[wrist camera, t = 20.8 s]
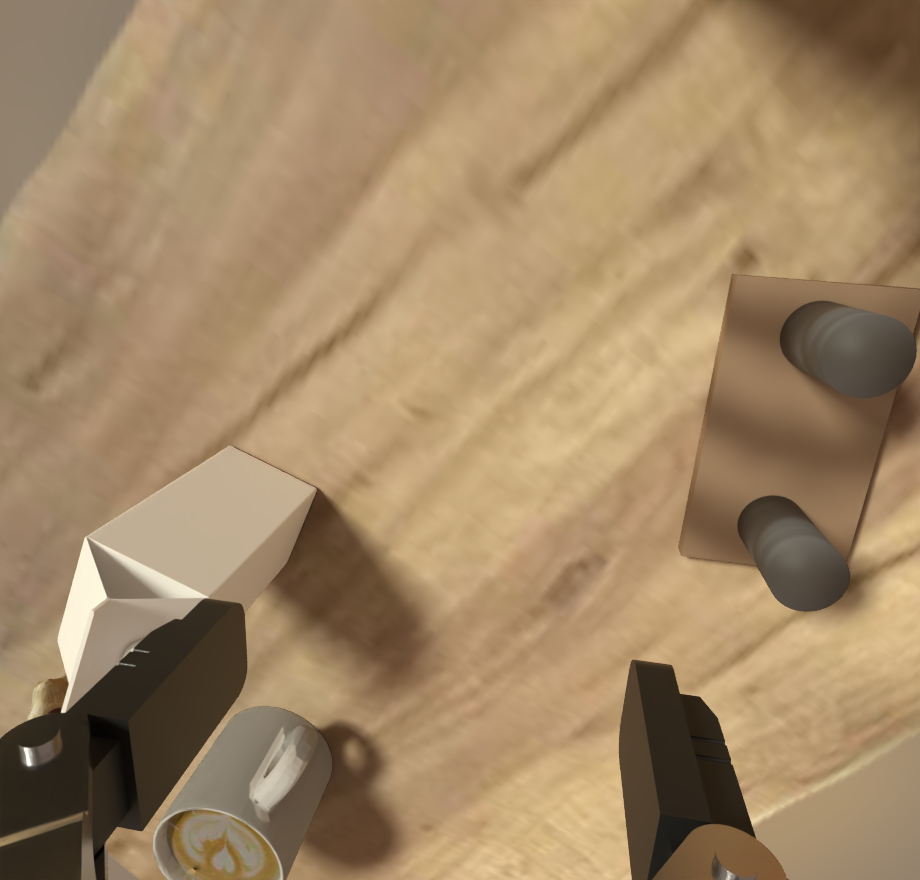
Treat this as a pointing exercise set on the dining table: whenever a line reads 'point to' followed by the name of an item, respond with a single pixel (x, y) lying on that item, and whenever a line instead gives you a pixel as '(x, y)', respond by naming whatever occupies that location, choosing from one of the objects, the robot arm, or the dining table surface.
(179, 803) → the coffee mug
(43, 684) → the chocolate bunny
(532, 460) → the dining table surface
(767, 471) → the stand
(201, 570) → the milk carton
